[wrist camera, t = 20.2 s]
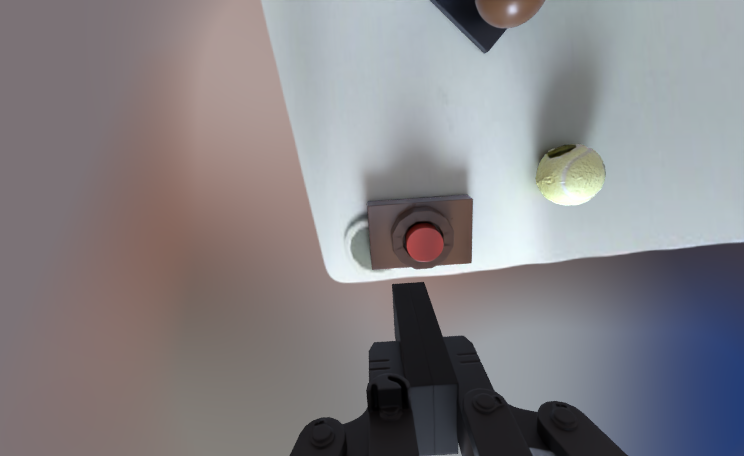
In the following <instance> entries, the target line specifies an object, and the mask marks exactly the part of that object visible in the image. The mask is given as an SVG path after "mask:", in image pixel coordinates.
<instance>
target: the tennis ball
mask: <svg viewBox="0 0 744 456" xmlns="http://www.w3.org/2000/svg"><path fill="white" fill-rule="evenodd" d="M605 175H606V172H605V165H604V163H603V161H602V159H601V157H600V155H599V154H598V153H597V152H596V151H594V150H593V149H591V148H587V147H586V146H584V145H582V144H570V145H564V146H560V147H558V148H553V149H551V150H548V151H547V154H545V156H544V157H543V158H542V160H541V161H540V164H539V166H538V169H537V173H536V184H537V185H538V188H539V189H540V191H541V192H542V194H543V195H544V196H545V197H546V198H547V199H549V200H550V201H553V202H555V203H557V204H561V205H578V204H581V203H584V202H587V201H588V200H590V199H592V198H593V197H594V196H595V195H596V194H597V192H598V191H600V189H601V188H602V186H603V184H604V181H605Z"/></svg>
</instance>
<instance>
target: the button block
mask: <svg viewBox="0 0 744 456" xmlns="http://www.w3.org/2000/svg"><path fill="white" fill-rule="evenodd" d="M367 209H368V223H369V236H370V250H371V263H372V270H380V269H394V268H409V267H412V268H414V269H428V268H433V267H435V266H438V265H453V264H467V263H471V261H472V211H473V199H472V198H471V197H470V196H469V195H455V196H440V197H426V198H412V199H397V200H383V201H369V202H367ZM419 223H428V224H431V225H433V226H434V227H436V228H437V230H438V231H439V233H440V234H441V236H442V238H443V243H444V245H443V250H442V252H441V253H440V255H439V256H438V257H437V258H435V259H434V260H432V261H428V262H420V261H417V260H415V259H413V258H412V257H411V256H410V254H409V253H408V250H407V247H406V243H405V237H406V234H407V232H408V231H409V229H410V228H411V227H413V226H414V225H416V224H419Z"/></svg>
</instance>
